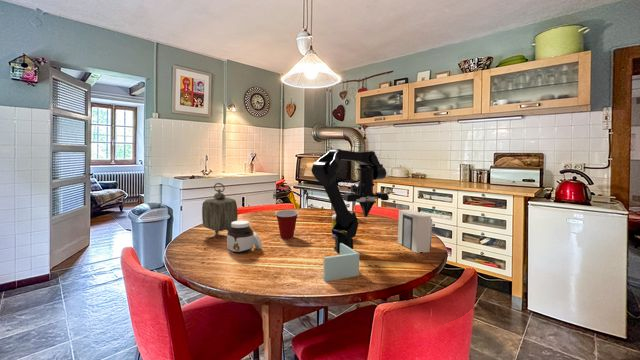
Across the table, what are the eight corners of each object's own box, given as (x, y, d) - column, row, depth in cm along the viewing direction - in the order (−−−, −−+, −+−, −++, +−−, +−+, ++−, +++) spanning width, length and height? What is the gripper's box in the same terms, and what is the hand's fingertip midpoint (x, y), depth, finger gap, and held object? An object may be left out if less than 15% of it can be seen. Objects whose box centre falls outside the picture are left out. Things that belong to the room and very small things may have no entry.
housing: (416, 253, 118) (417, 216, 117) (397, 242, 131) (398, 210, 130) (429, 251, 119) (430, 216, 118) (409, 241, 133) (410, 209, 132)
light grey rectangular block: (410, 249, 122) (411, 220, 121) (403, 245, 127) (404, 217, 126) (430, 247, 125) (432, 219, 124) (423, 243, 130) (424, 216, 129)
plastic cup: (270, 239, 134) (270, 213, 133) (280, 233, 145) (280, 209, 143) (293, 241, 131) (293, 215, 130) (301, 235, 141) (302, 210, 140)
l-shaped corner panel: (341, 263, 107) (342, 243, 106) (358, 276, 96) (359, 253, 95) (310, 268, 102) (310, 246, 101) (324, 282, 91) (325, 258, 90)
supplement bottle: (340, 239, 136) (341, 211, 135) (328, 236, 140) (329, 209, 139) (348, 236, 141) (348, 209, 140) (336, 233, 145) (337, 207, 144)
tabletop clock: (237, 236, 138) (237, 183, 136) (222, 241, 131) (221, 184, 128) (217, 232, 146) (216, 181, 144) (201, 236, 138) (199, 182, 136)
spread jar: (224, 251, 117) (223, 222, 116) (244, 244, 127) (243, 217, 126) (247, 257, 111) (247, 226, 110) (266, 248, 121) (266, 220, 120)
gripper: (378, 178, 137) (377, 212, 138) (339, 179, 132) (339, 213, 133) (389, 180, 126) (388, 217, 127) (348, 181, 121) (347, 219, 123)
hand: (365, 216), depth 128 cm, fingers closed
